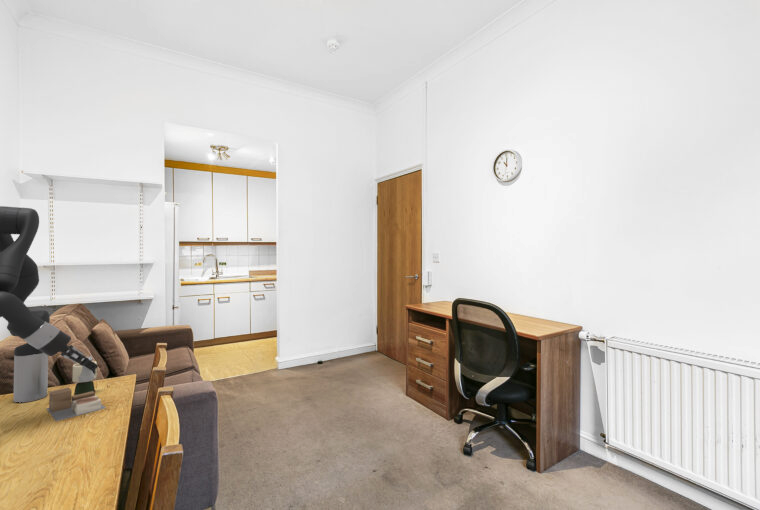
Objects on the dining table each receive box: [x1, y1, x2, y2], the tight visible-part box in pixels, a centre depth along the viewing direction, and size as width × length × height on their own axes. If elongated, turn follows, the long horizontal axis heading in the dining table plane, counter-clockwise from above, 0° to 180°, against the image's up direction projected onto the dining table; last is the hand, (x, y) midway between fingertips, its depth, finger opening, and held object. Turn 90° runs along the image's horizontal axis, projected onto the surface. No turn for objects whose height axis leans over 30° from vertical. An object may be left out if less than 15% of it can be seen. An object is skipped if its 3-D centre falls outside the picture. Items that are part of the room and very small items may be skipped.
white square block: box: [72, 395, 102, 416], centre depth 121 cm, size 6×6×3 cm
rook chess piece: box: [78, 355, 96, 382], centre depth 121 cm, size 4×4×8 cm
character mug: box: [72, 360, 98, 396], centre depth 135 cm, size 11×7×13 cm, turn 34°
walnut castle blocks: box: [48, 386, 96, 412], centre depth 125 cm, size 5×12×6 cm, turn 141°
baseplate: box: [46, 401, 107, 422], centre depth 122 cm, size 16×13×1 cm
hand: (94, 367), depth 123 cm, fingers closed on rook chess piece, 3 cm apart
